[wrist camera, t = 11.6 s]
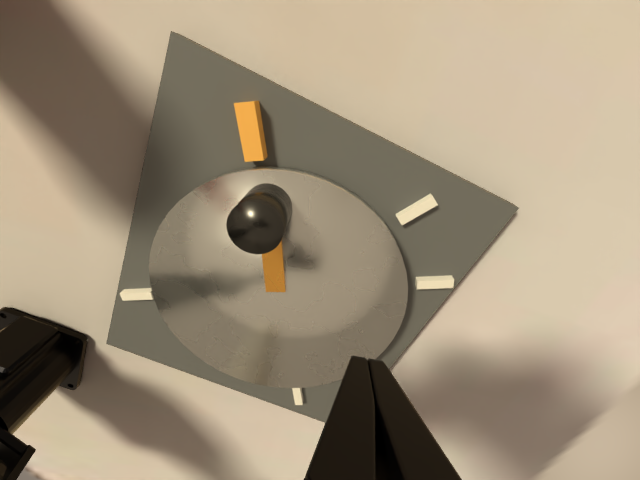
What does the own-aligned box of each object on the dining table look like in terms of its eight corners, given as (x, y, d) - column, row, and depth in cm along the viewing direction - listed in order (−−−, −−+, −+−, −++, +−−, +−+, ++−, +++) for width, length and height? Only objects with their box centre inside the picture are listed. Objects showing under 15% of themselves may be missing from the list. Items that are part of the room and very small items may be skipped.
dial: (393, 380, 23) (403, 433, 20) (185, 373, 24) (158, 422, 21) (419, 164, 16) (441, 185, 13) (126, 166, 17) (71, 186, 14)
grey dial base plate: (341, 419, 27) (341, 440, 26) (113, 336, 25) (97, 353, 23) (511, 203, 18) (528, 214, 17) (178, 33, 16) (159, 27, 14)
